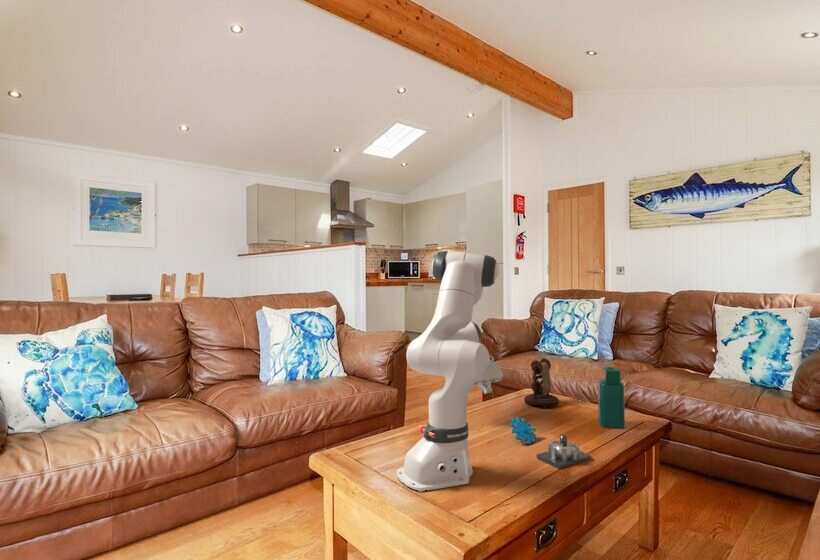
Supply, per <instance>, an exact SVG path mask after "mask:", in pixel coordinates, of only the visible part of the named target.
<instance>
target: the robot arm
mask: <svg viewBox="0 0 820 560" xmlns="http://www.w3.org/2000/svg"><path fill="white" fill-rule="evenodd" d="M431 272H432V277H433V278H434V279H435V280H437V281H438V282H440V286H439V291H438V297H437V301H436V306H435V310H434V314H433V317H432V319H431V322H429V324H428V326H427V328H425V330H424V331H423V332H422V333H421V334H420V335H419V336H417V337H416V338H414V339H413V340H411V342H410V343H409V344H408V346H407V350H406V355H405V357H406V362H407V365H408V366H409V368H410V369H411V370H413V371H415V372H419V373H420V374H421V373H422V374H425V375H431V376H438V377H439V376H441V377H444V378H445V382H444V386H441V387H440V388H438V389H436V390H434V391H433V392H432V393H431V394H430V395H429V399H428V422H427V424H426V426H424V425H422V424H419V425H417V428H416V430H417V432H420V433H421V434H423V437H421V439H419V440H418V441H417V443H416V444H414V445H413V447H411V448H410V449H409V450H408V451H407V452H406V454H405V457H404V462H403V463H404V464H403V466H402V467H400V468H397V469H396V474H397V476H396V478H397V477H398V478H399V480H400V481H401V482H402V483H404V484H405V485H406V486H405V485H404V484H403V485H404V486H405V487H407V486H408V487H410V488H412V489H415V490H418V491H417V492H426V491H425V490H427V491H432V490H438V489H444V488H450V487H457V486H461V485H463V486H464V485H467V484H469V483H470V480H471V479H470V478H471V477H472V476H473V473H474V470H473V467H472V463H471V459H470V454H469V445H468V438H469V424H468V421H467V419H468V418H467V414H468V413H467V412H468V411H467V408H468V398H469V393H470V391H471V389H472V388H473V386H477V388H479V389H480V390H481V391H482V392H483V394H484V395H486V394H491V393H492V392H493V390H492V387H491V386H492V384H491V383H497V382H501V381H502V380H503V378H504V372H503V371H502V369H501V367H500V365H499V364H498V362H496V361H495V358H494V356H493V355H490V352H489V350H488V348H487V347H486V346H485V345H484V344H483V343H481V342H482V341H481V340H482V338H483V334H482V331H481V328H480V327H479V325H478V324H476V322H474V321H472V320H473V319H472V318H473V311H474V306H475V305H477V304H478V303H479V301H480V300H481V299H482V296H483V292H484V288H487V287H489V288H490V287H491V286H492V285H494V284H495V282H496V280H497V278H498V275H499V266H498V263H497V259H495V257H493V256H490V255H487V254H486V255H482V254H478V253H472V252H466V251H448V250H442V251H438V252H437V253H436V254H435V255H434V257H433V260H432V261H431ZM398 478H397V479H398ZM399 480H398V481H399ZM401 482H400V483H401ZM402 483H401V484H402ZM408 487H407V488H408ZM410 488H409V489H410ZM412 489H411V490H412ZM415 490H414V491H415Z"/></svg>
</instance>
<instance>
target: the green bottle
mask: <svg viewBox="0 0 820 560" xmlns="http://www.w3.org/2000/svg"><path fill="white" fill-rule="evenodd" d="M602 369H603V371H604V372H605V377H602V378H600V379H598V381H597V415H598V417H597V419H598V423H599V426H600V427H602V426H603V427H602V428H604V427H611V428H610V429H615V428H623V429H624V428H625V427H626V426H625V425H626V423H625V420H626V418H625V416H626V415H625V409H626V408H625V407H626V406H625V405H626V404H625V385H624V383H623V382H622V381H621V370H620V369H619V368H617V367H615V366H614V367H613V366H605V367H603V368H602Z"/></svg>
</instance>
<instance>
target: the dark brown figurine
mask: <svg viewBox="0 0 820 560" xmlns="http://www.w3.org/2000/svg"><path fill="white" fill-rule="evenodd" d="M551 367H552V365H551V361H550V360H549V359H548V358H541V359H540V360H537V359H536V360H533V361H532V362H531V364H530V368H531V370H532V375H533V376H532V377H531V379H532V380H533V381H532V384H531V390H532V392H533V393H528V394H527V395H525V396H524V399H523V400H524V404H525V405H528V404H530V405H532V406H541V407H543V409H544V410H546V408H547V407H553V406H557V405H559V403H560V400H559V398H558V397H557V396H555V395H553V394H550V392H551V390H552V381H551V375H550V371H551ZM539 379H541V380H540V381H537V380H539Z"/></svg>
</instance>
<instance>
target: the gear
mask: <svg viewBox="0 0 820 560" xmlns="http://www.w3.org/2000/svg"><path fill="white" fill-rule="evenodd" d="M526 422H527V419H526V418H524V417H523V418H521V417H520V416H516V417H515V418H514V417H513V418H512V419H511V423H510V424H509V426H510V427H511V429H510V433H512V434H515V435H514V439H516V440H519V438H522V439H520V440H519V441H520V443H522V444H525V442H526V445H528V446H529V445H531V444H532V443H535V442H536V438H537V436H538V435H537V433H535V432H536V431H537V430H538V428H537V426H534V427H531V426H532V423H531V422H530V421H528V422H527V423H526ZM526 440H527V441H526Z"/></svg>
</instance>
